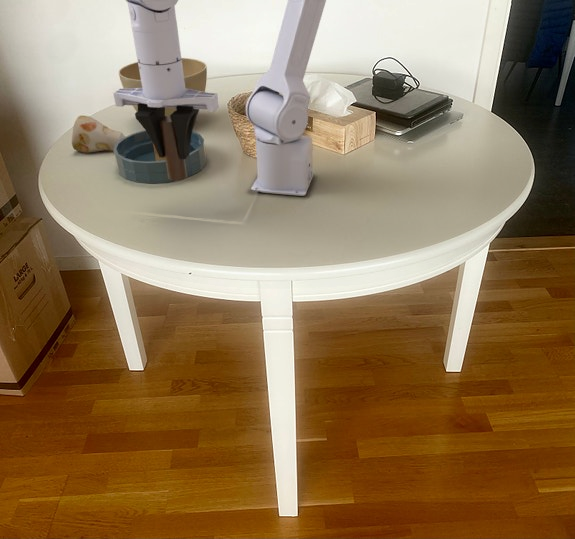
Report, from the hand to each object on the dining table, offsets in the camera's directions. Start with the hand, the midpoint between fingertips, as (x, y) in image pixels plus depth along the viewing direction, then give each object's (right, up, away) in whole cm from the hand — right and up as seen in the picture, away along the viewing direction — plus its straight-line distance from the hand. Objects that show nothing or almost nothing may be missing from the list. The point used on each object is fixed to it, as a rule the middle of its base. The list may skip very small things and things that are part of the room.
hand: (174, 155), depth 78 cm
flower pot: (-9, +15, +39) cm, 43 cm away
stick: (0, -3, +2) cm, 3 cm away
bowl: (-7, +2, +21) cm, 23 cm away
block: (-6, +4, +23) cm, 24 cm away
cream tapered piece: (-20, +7, +28) cm, 35 cm away
